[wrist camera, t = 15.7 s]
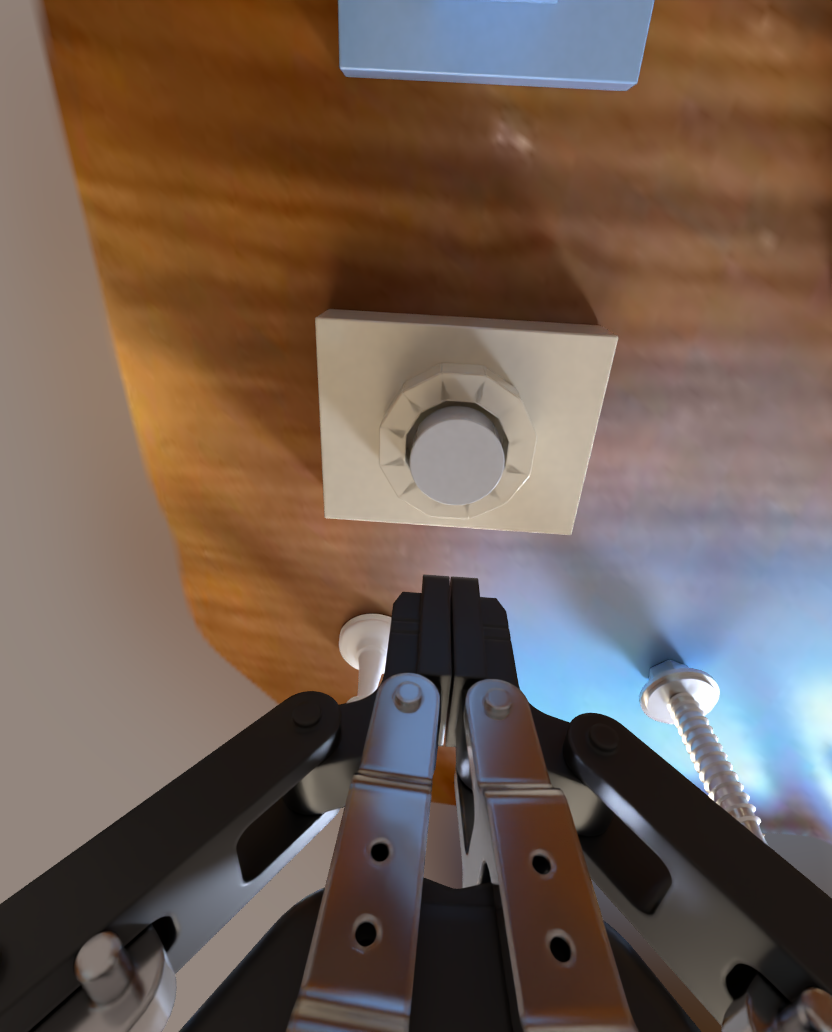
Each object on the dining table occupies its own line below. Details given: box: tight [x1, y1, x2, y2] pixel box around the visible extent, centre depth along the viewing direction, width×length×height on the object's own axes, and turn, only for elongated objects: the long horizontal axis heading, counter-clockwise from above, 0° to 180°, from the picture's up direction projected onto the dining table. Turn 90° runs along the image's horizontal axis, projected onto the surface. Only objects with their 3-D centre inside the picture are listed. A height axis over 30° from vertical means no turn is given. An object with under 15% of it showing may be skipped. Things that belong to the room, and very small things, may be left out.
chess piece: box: [339, 614, 391, 703], centre depth 30 cm, size 5×5×10 cm
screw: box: [639, 660, 768, 845], centre depth 29 cm, size 13×5×5 cm
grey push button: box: [410, 406, 505, 505], centre depth 22 cm, size 4×4×2 cm
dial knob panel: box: [315, 309, 618, 535], centre depth 24 cm, size 13×10×4 cm
